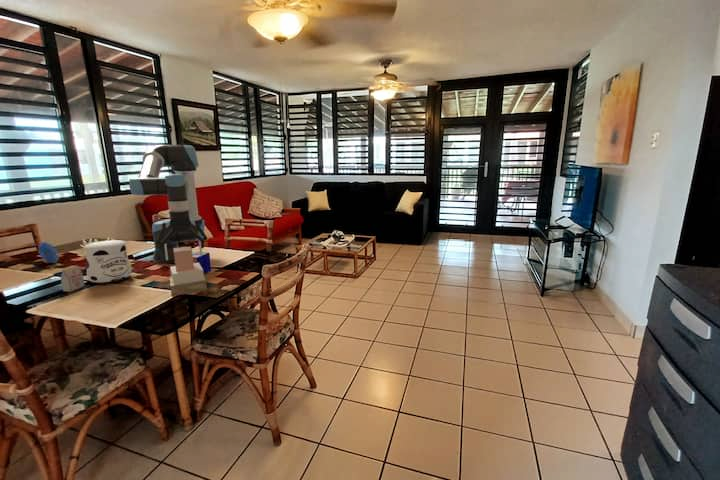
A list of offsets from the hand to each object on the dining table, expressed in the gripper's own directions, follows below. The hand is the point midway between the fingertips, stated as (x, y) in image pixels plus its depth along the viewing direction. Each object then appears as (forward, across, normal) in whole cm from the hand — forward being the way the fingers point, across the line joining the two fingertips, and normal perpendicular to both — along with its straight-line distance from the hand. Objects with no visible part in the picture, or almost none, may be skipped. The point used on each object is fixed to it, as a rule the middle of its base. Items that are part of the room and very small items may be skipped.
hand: (184, 257), depth 150 cm
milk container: (+15, -32, +28) cm, 45 cm away
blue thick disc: (+15, -66, +74) cm, 100 cm away
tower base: (+15, 0, 0) cm, 15 cm away
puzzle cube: (+15, +5, +21) cm, 26 cm away
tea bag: (+15, -45, +22) cm, 52 cm away
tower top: (+10, 0, 0) cm, 10 cm away
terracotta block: (+5, 0, 0) cm, 5 cm away
